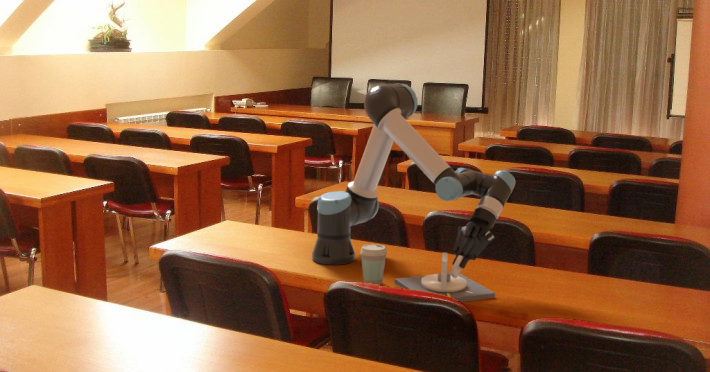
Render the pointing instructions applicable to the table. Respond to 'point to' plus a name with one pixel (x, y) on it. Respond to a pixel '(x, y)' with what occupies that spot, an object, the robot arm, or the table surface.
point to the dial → (443, 280)
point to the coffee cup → (373, 263)
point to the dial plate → (468, 294)
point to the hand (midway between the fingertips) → (453, 275)
